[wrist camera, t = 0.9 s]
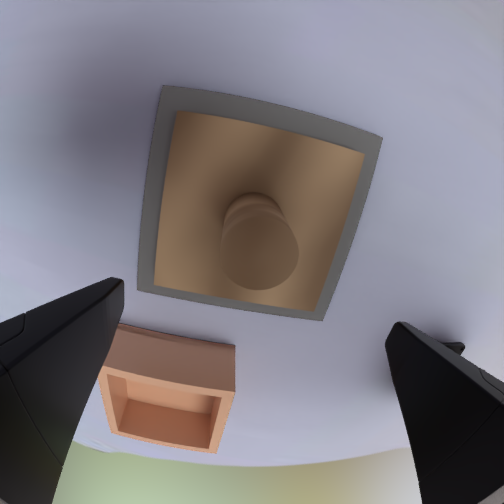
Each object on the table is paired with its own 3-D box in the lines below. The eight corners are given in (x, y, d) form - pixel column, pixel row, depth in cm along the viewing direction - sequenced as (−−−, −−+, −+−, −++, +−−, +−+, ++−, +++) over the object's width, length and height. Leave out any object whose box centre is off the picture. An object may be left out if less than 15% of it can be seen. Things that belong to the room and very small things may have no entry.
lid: (357, 152, 17) (408, 165, 11) (310, 302, 21) (332, 360, 15) (181, 111, 16) (152, 102, 10) (157, 276, 20) (131, 331, 14)
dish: (235, 345, 23) (235, 392, 19) (217, 413, 27) (216, 453, 22) (116, 322, 22) (95, 363, 17) (123, 395, 26) (111, 432, 21)
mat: (379, 137, 17) (382, 137, 17) (320, 316, 22) (322, 321, 22) (165, 86, 15) (162, 85, 15) (139, 286, 21) (137, 290, 20)
